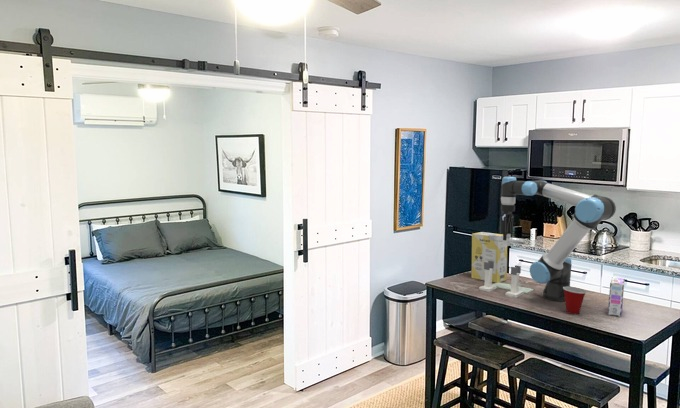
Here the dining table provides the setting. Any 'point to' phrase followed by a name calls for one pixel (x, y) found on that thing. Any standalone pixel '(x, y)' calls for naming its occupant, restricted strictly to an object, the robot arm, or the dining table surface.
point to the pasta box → (488, 256)
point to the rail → (510, 239)
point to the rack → (490, 287)
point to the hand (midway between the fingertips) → (506, 245)
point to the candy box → (616, 296)
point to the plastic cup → (573, 299)
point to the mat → (508, 287)
